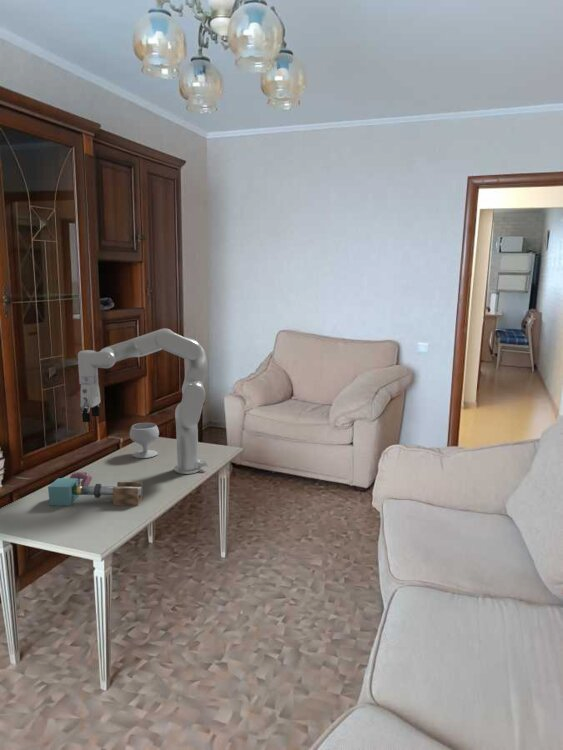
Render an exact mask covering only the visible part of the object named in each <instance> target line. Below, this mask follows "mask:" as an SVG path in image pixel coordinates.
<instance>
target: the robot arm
mask: <svg viewBox="0 0 563 750" xmlns="http://www.w3.org/2000/svg"><path fill="white" fill-rule="evenodd" d="M162 350H163V351H166V352H168V353H170V354H172V355H175V356H178V357H180V358H182V359H184V360H186V361H187V365H186V366H187V367H186V370H185V371H186V372H185V376H184V380H183V384H182V386H181V394H182V397H181V398H182V399H181V401H180V403H178V404H177V406H176V408H175V412H174V415H175V416H174V417H175V418H174V419H175V429H176V430H175V432H176V433H175V434H176V459H177V460H176V461H177V462H176V463H177V464H175V466H174V467H173V471H174V472H175V473H178V474H180V475H181V474H182V475H190V474H195V473H198V472H199V473H200V472H201V471H202V470H203V468H204V467H205V468H207V467H209V462H208V461H206V460H201V458H200V457H199V434H198V433H199V429H198V423H199V421H200V419H201V414H202V411H203V408H204V403H205V399H206V389H205V387H204V383H205V379H206V373H207V368H208V360H207V359H208V358H207V354H206V351H205V349H204V348H203V347H202V345H201V344H200V343H199V342H198V341H197V340H196V339H194V338H191V337H185V336H182V335H180V334H178V333H176V332H174V331H173V330H171V329H169V328H160V329H157V330H154V331H151V332H148V333H146V334H143V335H140V336H136V337H134V338H131V339H128V340H125V341H121V342H118V343H115V344H113V345H108V346H106V347H103V348H101V350H100V351H96V350H92V349H85V350H80V351H79V352H78V353H77V361H78V362H77V363H78V377H79V385H80V404H79V405H80V406H79V407H80V410H81V415H82V416H81V417H82V422H83V423H90V422H91V417H100V404H101V392H100V391H101V390H100V385H99V371H98V370H99V369H110V368H112V367H113V366H114V365H115V364H116V363H117V362H120V361H122V360H126V359H129V358H141V357H145V356H148V355H150V354H151V355H152V354H153V353H156V352H159V351H162ZM98 368H99V369H98ZM90 409H91V412H90Z"/></svg>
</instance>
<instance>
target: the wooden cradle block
mask: <svg viewBox="0 0 563 750" xmlns="http://www.w3.org/2000/svg"><path fill="white" fill-rule="evenodd" d="M116 485H117V486H120V487H113V495H112V501H113V506H139V505H140V503H141V502H140V501H142V500H143V499H142V498H143V497H144V496H143V491H142V495H141V496H138V487H142V488H143V482H142V481H118V482H117V484H116ZM138 504H139V505H138Z"/></svg>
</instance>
